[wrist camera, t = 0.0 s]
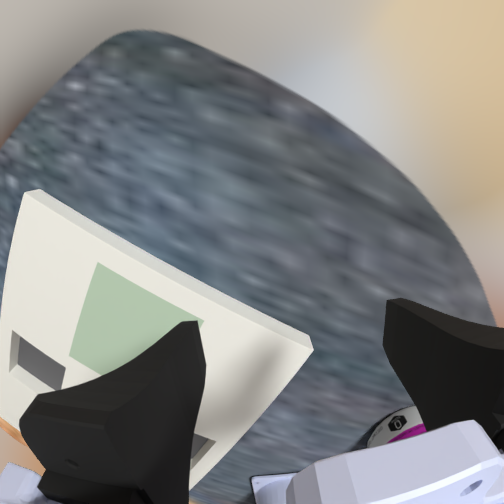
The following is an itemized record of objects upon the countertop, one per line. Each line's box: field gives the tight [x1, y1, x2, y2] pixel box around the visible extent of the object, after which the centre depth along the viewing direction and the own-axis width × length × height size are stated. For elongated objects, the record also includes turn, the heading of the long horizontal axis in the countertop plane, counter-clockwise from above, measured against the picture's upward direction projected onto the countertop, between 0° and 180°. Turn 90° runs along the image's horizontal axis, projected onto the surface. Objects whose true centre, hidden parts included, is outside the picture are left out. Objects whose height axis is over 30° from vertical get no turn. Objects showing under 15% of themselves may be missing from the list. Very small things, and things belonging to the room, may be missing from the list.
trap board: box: [0, 189, 313, 490], centre depth 24 cm, size 28×23×2 cm
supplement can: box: [367, 406, 427, 448], centre depth 19 cm, size 8×8×15 cm
